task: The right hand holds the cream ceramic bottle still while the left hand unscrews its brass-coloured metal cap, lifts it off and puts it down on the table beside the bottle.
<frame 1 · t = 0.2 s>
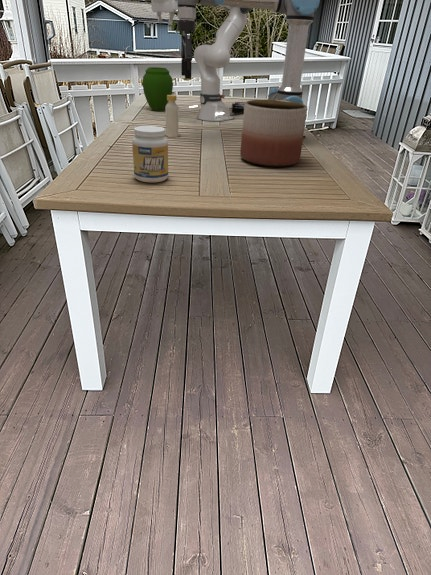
left hand: (165, 23, 208), 48 cm above the table, tool pointing down, fingers open, 8 cm apart
right hand: (186, 77, 181), 28 cm above the table, tool pointing down, fingers open, 13 cm apart
sign: (245, 110, 285), on the table
bottle: (172, 135, 206), on the table
supplement tub: (151, 178, 146), on the table
cap: (171, 96, 197), point 18 cm above the table, screwed on, not yet turned
vase: (158, 110, 268), on the table
planter: (269, 160, 175), on the table
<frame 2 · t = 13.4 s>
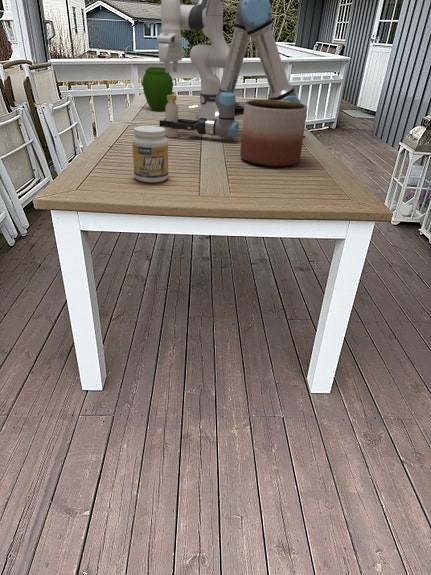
left hand: (171, 72, 191), 28 cm above the table, tool pointing down, fingers open, 7 cm apart
right hand: (162, 122, 204), 6 cm above the table, tool horizontal, fingers closed on bottle, 6 cm apart
bottle: (172, 135, 206), on the table, touching right hand
everything else where it was.
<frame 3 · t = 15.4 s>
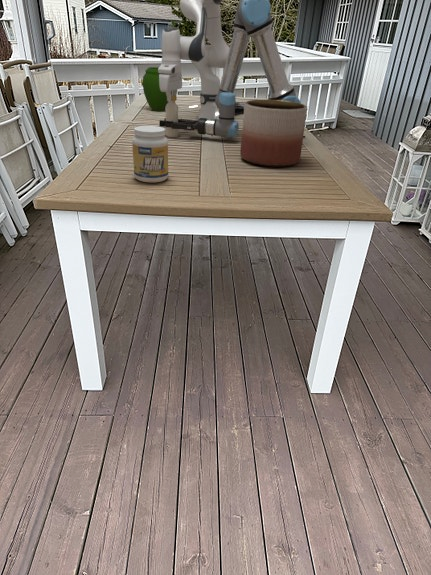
left hand: (171, 100, 198), 16 cm above the table, tool pointing down, fingers closed on cap, 4 cm apart
right hand: (162, 122, 204), 6 cm above the table, tool horizontal, fingers closed on bottle, 6 cm apart
bottle: (172, 135, 206), on the table, touching right hand
cap: (171, 96, 197), point 18 cm above the table, screwed on, not yet turned, touching left hand
everything else where it was.
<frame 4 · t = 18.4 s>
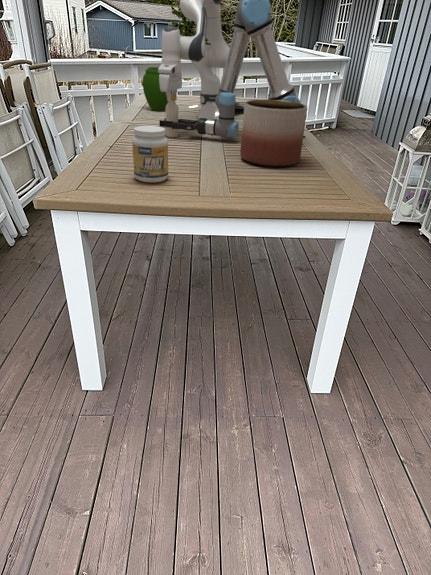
left hand: (171, 100, 198), 16 cm above the table, tool pointing down, fingers closed on cap, 4 cm apart
right hand: (162, 122, 204), 6 cm above the table, tool horizontal, fingers closed on bottle, 6 cm apart
bottle: (172, 135, 206), on the table, touching right hand
cap: (171, 95, 197), point 18 cm above the table, turned 78° so far, risen 0.1 cm, still on its thread, touching left hand
everything else where it was.
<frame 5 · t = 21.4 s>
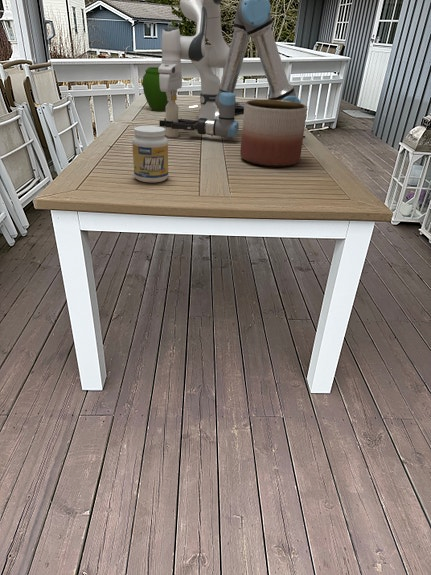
left hand: (171, 100, 198), 17 cm above the table, tool pointing down, fingers closed on cap, 4 cm apart
right hand: (162, 122, 204), 6 cm above the table, tool horizontal, fingers closed on bottle, 6 cm apart
bottle: (172, 135, 206), on the table, touching right hand
cap: (171, 95, 196), point 19 cm above the table, turned 155° so far, risen 0.2 cm, still on its thread, touching left hand
everything else where it was.
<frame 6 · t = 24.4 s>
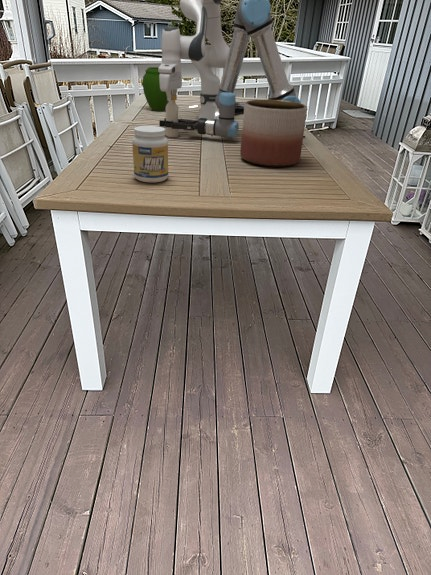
left hand: (171, 100, 197), 17 cm above the table, tool pointing down, fingers closed on cap, 4 cm apart
right hand: (162, 122, 204), 6 cm above the table, tool horizontal, fingers closed on bottle, 6 cm apart
bottle: (172, 135, 206), on the table, touching right hand
cap: (171, 95, 196), point 19 cm above the table, turned 233° so far, risen 0.2 cm, still on its thread, touching left hand
everything else where it was.
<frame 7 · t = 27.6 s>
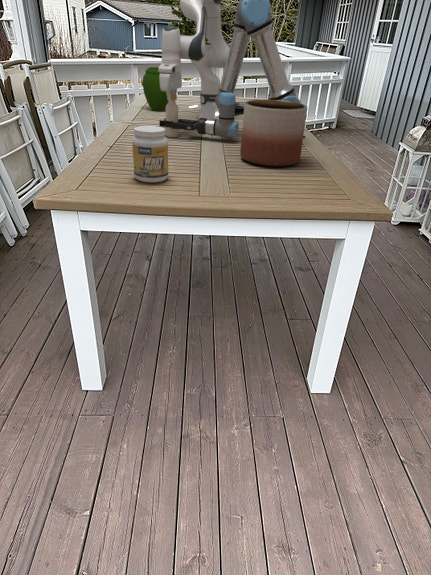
left hand: (171, 99, 197), 17 cm above the table, tool pointing down, fingers closed on cap, 4 cm apart
right hand: (162, 122, 204), 6 cm above the table, tool horizontal, fingers closed on bottle, 6 cm apart
bottle: (172, 135, 206), on the table, touching right hand
cap: (172, 95, 196), point 19 cm above the table, turned 311° so far, risen 0.3 cm, still on its thread, touching left hand
everything else where it was.
when the left hand's fingers open (2 cm above the table, at t = 33.5 s): cap drops 2 cm, point 2 cm above the table.
when the right hand's fingers open (6 cm above the table, at t = 34.5 s): bottle stays where it is, on the table.
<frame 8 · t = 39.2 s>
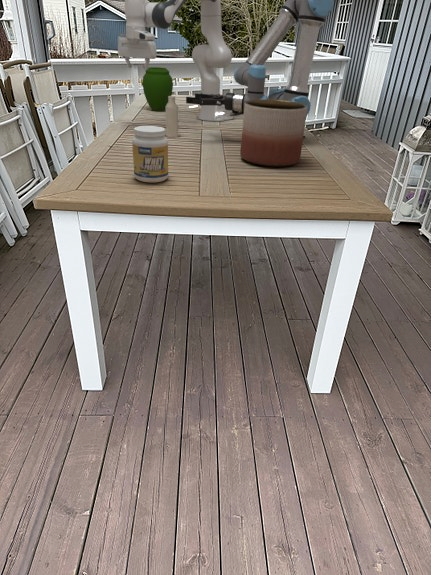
left hand: (137, 68, 196), 29 cm above the table, tool pointing down, fingers open, 8 cm apart
right hand: (190, 98, 195), 18 cm above the table, tool horizontal, fingers open, 13 cm apart
bottle: (172, 135, 206), on the table
cap: (140, 128, 211), point 2 cm above the table, off its thread
everything else where it was.
at the end: cap came off its thread; cap point 1.8 cm above the table; the left hand is holding nothing; the right hand is holding nothing; bottle tilted 0°; bottle moved 0.1 cm from its start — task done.
